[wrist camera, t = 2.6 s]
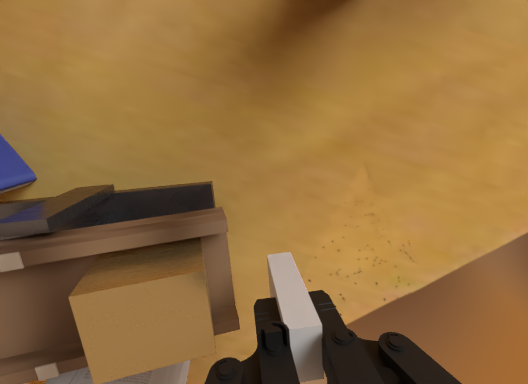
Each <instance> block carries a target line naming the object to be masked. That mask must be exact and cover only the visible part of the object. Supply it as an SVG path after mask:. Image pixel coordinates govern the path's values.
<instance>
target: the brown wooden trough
mask: <svg viewBox="0 0 528 384" xmlns="http://www.w3.org/2000/svg"><path fill="white" fill-rule="evenodd" d="M226 232H228V226H227V219H226V216H225V214H224V211H223V208H222V207H219V208H212V209H206V210H199V211H192V212H186V213H179V214H172V215H165V216H159V217H152V218H145V219H139V220H132V221H125V222H118V223H112V224H105V225H98V226H92V227H85V228H78V229H71V230H65V231H58V232H51V233H39V234H35V235H31V236H24V237H18V238H11V239H4V240H0V384H22V383H26V382H30V381H34V380H38V379H39V381H42V380H46V379H50V378H54V377H58V376H59V374H62V373H66V372H70V371H74V370H78V369H82V368H86V367H89V366H88V362H87V359H86V356H85V352H84V349H83V345H82V342H81V339H80V335H79V332H78V328H77V325H76V322H75V318H74V315H73V311H72V308H71V305H70V301H69V298H68V297H69V296H70V294H71V293H72V291H73V290H74V289H75V287H76V286H77V284H78V283H79V282H80V280H81V279H82V277H83V276H84V275H85V273H86V272H87V270H88V269H89V268H90V266H91V265H92V263H93V262H94V261H95V259H96V258H97V256H98V255H99V254H101V253H107V252H113V251H118V250H124V249H130V248H136V247H142V246H148V245H154V244H160V243H166V242H172V241H177V240H183V239H189V238H195V237H201V241H202V248H203V255H204V261H205V268H206V275H207V282H208V289H209V295H210V302H211V311H212V320H213V329H214V335H218V334H222V333H226V332H230V331H234V330H238V329H240V326H239V318H238V314H237V310H236V306H235V299H234V291H233V283H232V274H231V266H230V258H229V250H228V242H227V233H226Z"/></svg>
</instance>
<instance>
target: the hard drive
mask: <svg viewBox="0 0 528 384" xmlns="http://www.w3.org/2000/svg"><path fill="white" fill-rule="evenodd" d="M36 179H37V178H36V176H35V174H34V172H33V171H32V170H31V169H30V168H29V166H28V165H27V164H26V163H25V162H24V160H23V159H22V158H21V157H20V156H19V155H18V154H17V153H16V151H15V150H14V149H13V148H12V147H11V146H10V144H9V143H8V142H7V141H6V140H5V139H4V138H3V137H2V135H1V134H0V194H1V193H5V192H8V191H11V190H14V189H18V188H21V187H24V186H27V185H29V184H30V183H32V182H34V181H35V180H36Z"/></svg>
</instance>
